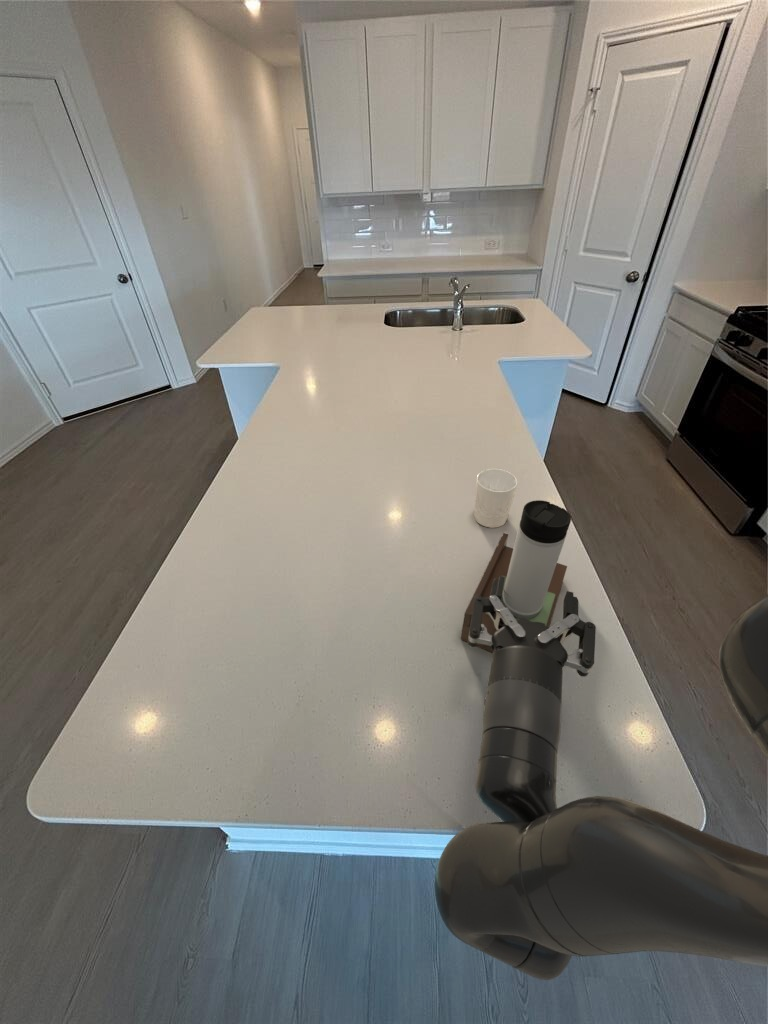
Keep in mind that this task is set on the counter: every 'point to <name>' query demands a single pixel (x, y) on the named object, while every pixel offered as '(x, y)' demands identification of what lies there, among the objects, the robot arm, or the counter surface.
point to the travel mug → (534, 557)
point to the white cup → (494, 496)
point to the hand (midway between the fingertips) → (533, 587)
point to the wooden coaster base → (493, 571)
